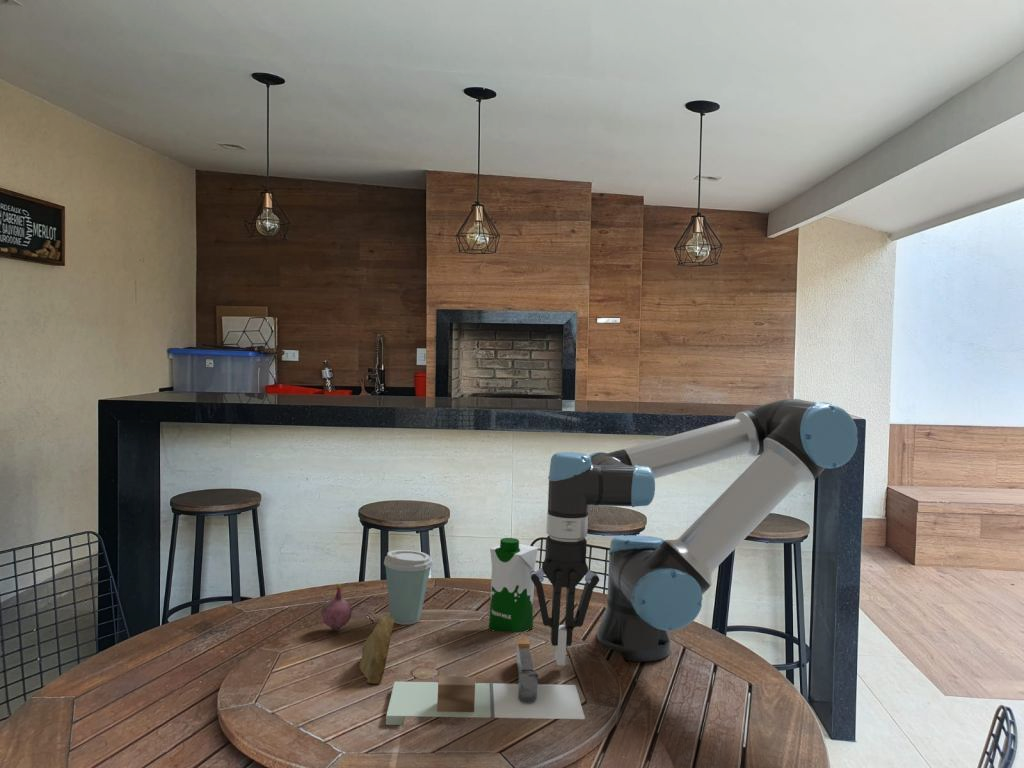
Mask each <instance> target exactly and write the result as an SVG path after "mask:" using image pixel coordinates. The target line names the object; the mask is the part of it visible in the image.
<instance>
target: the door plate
mask: <svg viewBox="0 0 1024 768" xmlns="http://www.w3.org/2000/svg"><path fill="white" fill-rule="evenodd" d="M518 685H519V683H501V682H500V683H497V682H496V683H494V682H487V683H486V682H475V702H474V712H437V702H438V682H436V681H435V682H433V681H394V683H393V686H392V691H391V696H390V699H389V703H388V708H387V712H386V716H385V719H386V721H385V726H386V725H387V726H404V725H405V719H406V717H424V718H425V717H427V718H428V717H429V718H431V717H434V718H437V717H438V718H489V719H490V718H492V719H493V718H494V719H539V720H541V719H545V720H548V719H553V720H555V719H557V720H586V716H585V714H584V711H583V707H582V704H581V699H580V696H579V693H578V689H577V686H576V684H553V683H549V684H547V683H545V684H543V683H542V684H541V683H540V684H539V683H537V700H536V701H534V702H522V701H520V700H519V699H518Z"/></svg>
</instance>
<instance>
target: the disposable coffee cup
mask: <svg viewBox="0 0 1024 768" xmlns="http://www.w3.org/2000/svg"><path fill="white" fill-rule="evenodd" d="M386 553H387V554H386V556H384V561H383V566H385V575H386V576H385V577H386V578H385V579H386V587H387V597H388V598H387V599H388V609H389V610H388V611H389V616H390V617H391V618H392V619H393V620H394V623H393V624H397V625H398V624H399V625H402V626H403V625H414V624H417V622H419V621H420V618H421V616H422V612H423V606H424V601H425V596H426V591H427V588H428V582H429V577H430V573H431V572H430V571H431V568H432V566H433V563H432V557H431V556H430V555H429V554H427V553H425V552H422V551H418V550H412V549H411V550H410V549H409V550H408V549H397V550H395V549H394V550H391V551H388V552H386Z"/></svg>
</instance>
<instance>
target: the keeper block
mask: <svg viewBox="0 0 1024 768" xmlns="http://www.w3.org/2000/svg"><path fill="white" fill-rule="evenodd" d="M475 683H476V677H475V676H454V675H452V676H449V675H446V676H443V675H441V676H440V675H439V676H438V702H437V712H474V702H475Z"/></svg>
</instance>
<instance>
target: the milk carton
mask: <svg viewBox="0 0 1024 768" xmlns="http://www.w3.org/2000/svg"><path fill="white" fill-rule="evenodd" d="M489 551H490V559H491V578H490V579H491V581H490V602H489V619H488V620H489V621H488V622H489V623H488V630H489V629H490V630H494V631H493V632H510V633H511V632H512V633H513V632H515V633H516V632H517V633H525V632H524V631H526V630H528V629H530V628H532V627H533V628H534V611H533V610H534V589H535V585H534V583H533V581H532V580H531V576H530V573H531V571H536V570H535V569H536V562H537V556H538V551H539V547H537V546H532V545H528V544H522V543H520V540H519V539H518V538H512V537H505V538H501V539H500V543H499V544H498V545H496V546H493V547H491V548H490V549H489ZM533 628H532V629H533ZM490 630H489V631H490Z"/></svg>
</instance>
